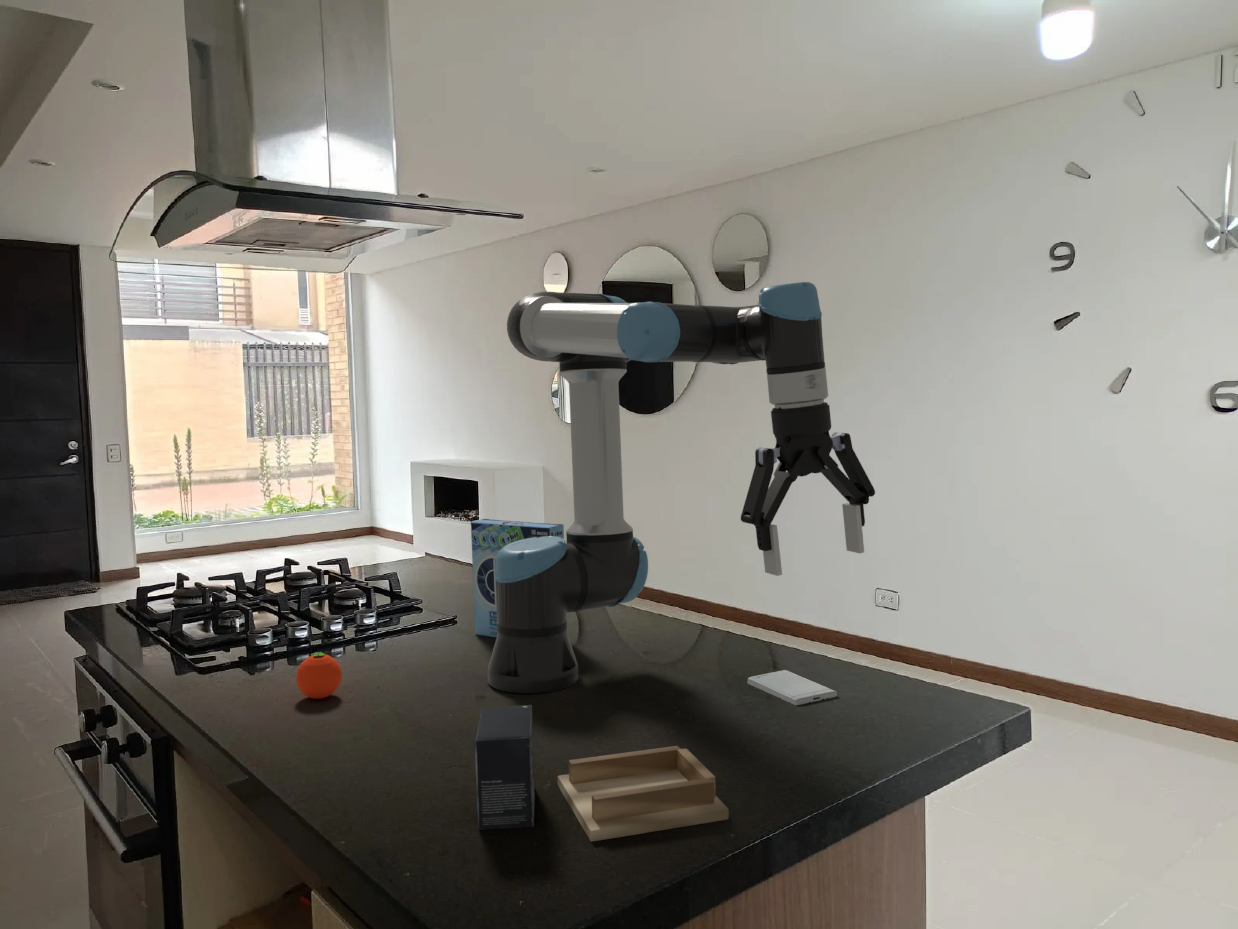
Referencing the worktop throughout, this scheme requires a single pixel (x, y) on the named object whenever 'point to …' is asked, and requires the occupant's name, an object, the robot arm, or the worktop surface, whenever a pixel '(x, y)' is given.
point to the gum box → (484, 552)
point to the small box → (505, 768)
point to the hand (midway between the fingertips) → (815, 562)
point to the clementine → (319, 676)
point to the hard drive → (791, 687)
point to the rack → (640, 792)
